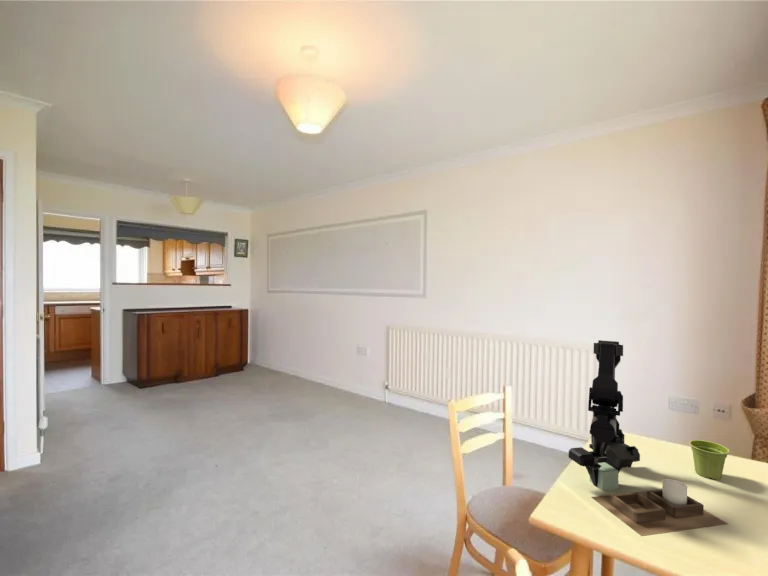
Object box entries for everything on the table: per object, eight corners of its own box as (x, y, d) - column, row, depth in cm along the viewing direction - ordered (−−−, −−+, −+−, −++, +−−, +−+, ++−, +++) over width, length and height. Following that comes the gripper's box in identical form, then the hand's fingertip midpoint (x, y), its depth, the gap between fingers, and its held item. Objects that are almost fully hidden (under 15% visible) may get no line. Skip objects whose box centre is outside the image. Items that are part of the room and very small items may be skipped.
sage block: (589, 484, 112) (589, 463, 112) (604, 482, 113) (605, 462, 112) (602, 493, 107) (602, 472, 107) (618, 492, 108) (618, 470, 108)
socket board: (591, 500, 103) (591, 487, 103) (667, 491, 108) (667, 479, 108) (641, 540, 88) (641, 524, 87) (728, 528, 92) (728, 513, 92)
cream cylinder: (657, 502, 101) (657, 479, 100) (673, 500, 102) (673, 478, 101) (675, 514, 96) (675, 490, 96) (692, 512, 97) (692, 488, 96)
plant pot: (737, 480, 114) (737, 450, 114) (714, 484, 112) (714, 454, 111) (703, 465, 123) (703, 438, 123) (681, 469, 121) (681, 441, 120)
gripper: (595, 443, 100) (594, 504, 100) (657, 438, 103) (656, 496, 103) (567, 427, 111) (566, 482, 111) (624, 423, 114) (623, 476, 114)
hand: (603, 484), depth 110 cm, fingers closed on sage block, 5 cm apart
